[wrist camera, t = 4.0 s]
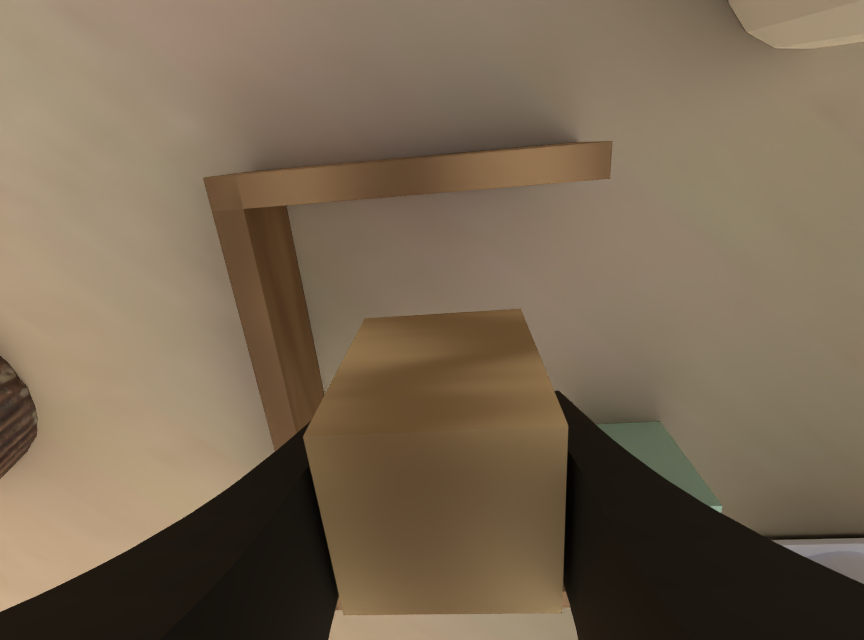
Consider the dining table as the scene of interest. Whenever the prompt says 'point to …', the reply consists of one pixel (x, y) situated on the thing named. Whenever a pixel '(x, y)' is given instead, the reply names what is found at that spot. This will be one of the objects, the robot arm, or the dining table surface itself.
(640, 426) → the teal block
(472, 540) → the oak block
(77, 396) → the dining table surface
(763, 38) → the white cylinder
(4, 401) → the cupcake
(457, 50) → the dining table surface
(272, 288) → the corral
